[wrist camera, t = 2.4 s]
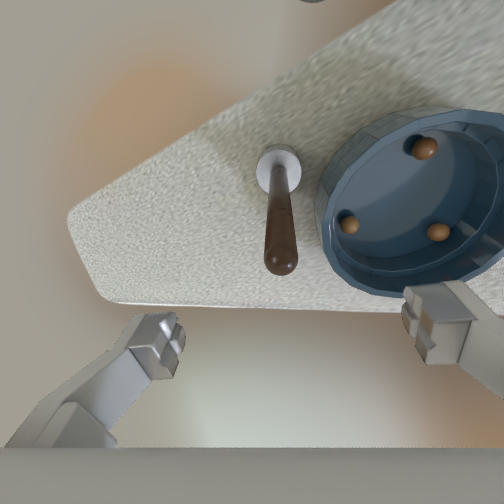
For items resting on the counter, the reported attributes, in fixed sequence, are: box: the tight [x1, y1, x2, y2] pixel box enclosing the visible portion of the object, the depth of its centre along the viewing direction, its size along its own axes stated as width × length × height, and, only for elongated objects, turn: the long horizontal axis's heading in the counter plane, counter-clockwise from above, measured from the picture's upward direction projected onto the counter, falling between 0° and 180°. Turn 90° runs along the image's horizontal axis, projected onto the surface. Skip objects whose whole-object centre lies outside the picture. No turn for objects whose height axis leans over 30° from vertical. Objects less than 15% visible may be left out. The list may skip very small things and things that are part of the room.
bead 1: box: [340, 216, 359, 234], centre depth 28 cm, size 2×2×2 cm
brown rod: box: [256, 144, 302, 276], centre depth 19 cm, size 4×4×18 cm
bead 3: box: [427, 223, 450, 241], centre depth 27 cm, size 2×2×2 cm
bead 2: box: [412, 137, 438, 160], centre depth 23 cm, size 2×2×2 cm
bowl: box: [314, 106, 504, 298], centre depth 25 cm, size 18×18×6 cm
